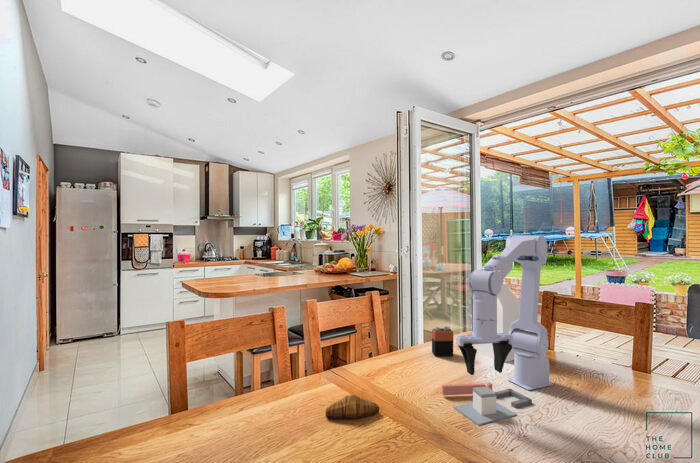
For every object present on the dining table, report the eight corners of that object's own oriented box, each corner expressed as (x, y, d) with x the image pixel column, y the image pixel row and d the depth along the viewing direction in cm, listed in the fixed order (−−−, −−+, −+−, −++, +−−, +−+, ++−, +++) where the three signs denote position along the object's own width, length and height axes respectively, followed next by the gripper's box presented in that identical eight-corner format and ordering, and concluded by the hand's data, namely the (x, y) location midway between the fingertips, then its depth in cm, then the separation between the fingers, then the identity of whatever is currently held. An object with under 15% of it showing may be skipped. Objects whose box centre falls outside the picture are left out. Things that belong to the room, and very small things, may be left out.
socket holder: (510, 392, 102) (510, 388, 102) (531, 403, 96) (531, 399, 95) (493, 395, 100) (493, 392, 100) (514, 407, 93) (514, 404, 93)
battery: (453, 356, 131) (453, 328, 130) (435, 357, 130) (435, 329, 130) (449, 352, 135) (449, 325, 135) (431, 352, 134) (431, 325, 134)
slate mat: (489, 399, 98) (489, 398, 98) (516, 415, 89) (516, 414, 89) (453, 407, 93) (453, 406, 93) (478, 425, 85) (478, 424, 85)
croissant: (375, 406, 94) (376, 387, 94) (382, 420, 87) (382, 399, 87) (323, 410, 92) (323, 391, 92) (326, 425, 85) (326, 403, 85)
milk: (502, 362, 125) (503, 286, 125) (476, 352, 135) (477, 282, 135) (525, 356, 131) (526, 284, 130) (499, 347, 141) (499, 280, 141)
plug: (487, 405, 94) (487, 386, 94) (496, 413, 90) (496, 393, 90) (472, 407, 93) (472, 387, 93) (481, 415, 89) (481, 394, 89)
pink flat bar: (493, 395, 100) (493, 384, 100) (443, 397, 99) (443, 386, 99) (490, 393, 101) (490, 382, 101) (441, 395, 100) (441, 384, 100)
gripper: (501, 313, 96) (500, 364, 97) (450, 315, 94) (450, 368, 94) (518, 319, 90) (518, 374, 90) (464, 322, 87) (464, 379, 87)
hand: (484, 372), depth 91 cm, fingers open, 7 cm apart
